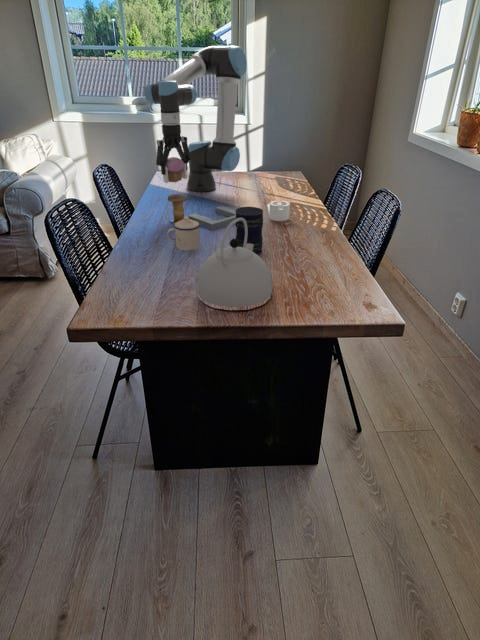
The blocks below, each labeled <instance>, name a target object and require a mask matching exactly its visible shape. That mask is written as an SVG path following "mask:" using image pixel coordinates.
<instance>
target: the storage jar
mask: <svg viewBox="0 0 480 640" xmlns="http://www.w3.org/2000/svg"><path fill="white" fill-rule="evenodd" d="M235 210H236V218H235V219H237V218H244V219H245V221H246V223H247V228H248V236H247V243H249V244H254V246H253V250H252V252H254V253H255V254H257V255H258V256H259V255H260V254H262V252H263V249H262V248H263V243H264V242H263V241H264V239H263V228H264V209H262V208H260V207H255V206H242V207H238V208H236V209H235ZM234 225H235V227H236V228H235V229H236V236H235V239H237V240H238V241H239V245H238V247H243V245H244V239H245V226H244V223H243V221H238V222H236V223H235V224H234ZM247 243H246V245H247Z"/></svg>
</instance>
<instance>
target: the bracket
mask: <svg viewBox="0 0 480 640" xmlns="http://www.w3.org/2000/svg"><path fill="white" fill-rule="evenodd" d="M266 205H267V206H266V207H267V208H266V211H267V214H268V217H269V220H271V221H276V222H286V221H288V220H289V219H290V211H291V210H290V208H291V202H289V201H286V200H280V202H278V200H271V201H270V202H269V203H268V204H266Z"/></svg>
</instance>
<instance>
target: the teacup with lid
mask: <svg viewBox="0 0 480 640" xmlns="http://www.w3.org/2000/svg"><path fill="white" fill-rule="evenodd" d="M173 226H174V228H173V227H172V228H170V229H168V230H167V232H166V236H167V238H168V239H169V240H170V242H174V243H176V249H177V248H179V249H182V250H194V251H196V250H195V249H197V250H199V249H200V248H201V247H200V246H201V245H200V244H201V243H200V242H201V241H200V240H201V239H200V224H199V223H198V222H197V221H194V220H191V219H189V217H188V215H187V216H184V219H183V220H181V221H178V222H176V223H175V224H173ZM170 232H175V238H172V237H171V236H170ZM198 248H199V249H198ZM179 249H178V250H179Z"/></svg>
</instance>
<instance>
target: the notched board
mask: <svg viewBox="0 0 480 640" xmlns="http://www.w3.org/2000/svg"><path fill="white" fill-rule="evenodd" d="M215 213H216V214H219V215H222V216H225V217H224V218H222V219H219V220H215V219H212V218H210V217H206V216H203V215H200V214H198V213H192V214H189V215H187V217H189V219H191V220H194V221H197V222H198V223H199V225H201V227H202V226H203V227H204V228H206V229H210V230H212V231H213V230H215V229H220V228H223V227H226V226H228V225H229V224H230V223H231V222H232V221H234V220H235V218H236V209H233V208H230V207H226V206H223V205H221V206H220V205H219V206H216V207H215Z"/></svg>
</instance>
